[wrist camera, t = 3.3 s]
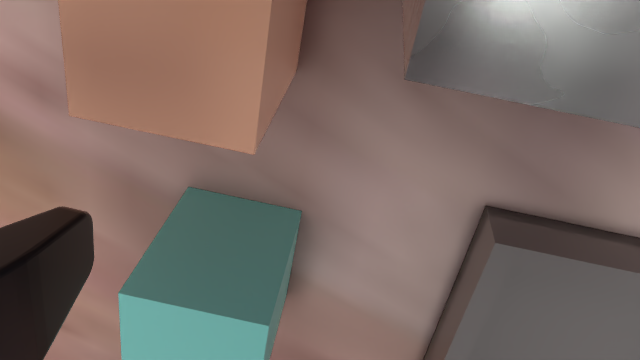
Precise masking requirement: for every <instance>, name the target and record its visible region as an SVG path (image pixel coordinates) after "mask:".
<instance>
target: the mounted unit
mask: <svg viewBox="0 0 640 360" xmlns="http://www.w3.org/2000/svg"><path fill="white" fill-rule="evenodd" d="M402 5H403V43H404V79H405V80H410V81H415V82H419V83H424V84H429V85H434V86H439V87H444V88H449V89H453V90H458V91H463V92H468V93H473V94H478V95H483V96H487V97H492V98H497V99H502V100H507V101H512V102H517V103H521V104H526V105H531V106H536V107H541V108H546V109H551V110H555V111H560V112H565V113H570V114H575V115H580V116H584V117H589V118H594V119H599V120H604V121H609V122H614V123H618V124H623V125H628V126H633V127H638V128H640V0H402Z"/></svg>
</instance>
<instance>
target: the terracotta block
mask: <svg viewBox="0 0 640 360" xmlns="http://www.w3.org/2000/svg"><path fill="white" fill-rule="evenodd" d="M58 4H59V15H60V25H61V36H62V46H63V57H64V67H65V78H66V89H67V99H68V110H69V116H73V117H77V118H82V119H87V120H92V121H96V122H101V123H106V124H111V125H115V126H120V127H125V128H129V129H134V130H139V131H144V132H148V133H153V134H158V135H163V136H167V137H172V138H177V139H182V140H186V141H191V142H196V143H201V144H205V145H210V146H215V147H220V148H224V149H229V150H234V151H239V152H243V153H248V154H253V155H254V154H255V152H256V150H257V148H258V146H259V144H260V142H261V140H262V139H263V137H264V135H265V133H266V131H267V129H268V127H269V125H270V123H271V121H272V119H273V117H274V115H275V113H276V111H277V109H278V107H279V105H280V103H281V101H282V99H283V97H284V95H285V93H286V91H287V89H288V87H289V85H290V83H291V81H292V79H293V77H294V75H295V73H296V71H297V65H298V58H299V51H300V45H301V38H302V31H303V25H304V18H305V11H306V4H307V0H58Z"/></svg>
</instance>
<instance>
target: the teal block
mask: <svg viewBox="0 0 640 360" xmlns="http://www.w3.org/2000/svg"><path fill="white" fill-rule="evenodd" d="M301 213H302V211H299V210H295V209H290V208H285V207H281V206H276V205H271V204H267V203H262V202H257V201H253V200H248V199H243V198H239V197H234V196H229V195H225V194H220V193H215V192H211V191H206V190H201V189H196V188H192V187H188V188H187V190H186V191H185V193H184V194H183V196H182V197H181V199H180V200H179V202H178V203H177V205H176V207H175V208H174V210H173V211H172V213H171V214H170V216H169V217H168V219H167V220H166V222H165V223H164V225H163V226H162V228H161V229H160V231H159V232H158V234H157V235H156V237H155V238H154V240H153V241H152V243H151V244H150V246H149V247H148V249H147V251H146V252H145V254H144V255H143V257H142V258H141V260H140V261H139V263H138V264H137V266H136V267H135V269H134V270H133V272H132V273H131V275H130V276H129V278H128V279H127V281H126V282H125V284H124V285H123V287H122V288H121V290H120V291H119V293H118V295H119V315H120V335H121V356H122V360H270V356H271V352H272V348H273V345H274V341H275V337H276V333H277V329H278V326H279V322H280V318H281V314H282V310H283V307H284V303H285V299H286V295H287V290H288V284H289V279H290V273H291V268H292V262H293V257H294V251H295V246H296V240H297V235H298V229H299V224H300V218H301Z"/></svg>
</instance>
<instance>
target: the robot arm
mask: <svg viewBox="0 0 640 360" xmlns="http://www.w3.org/2000/svg"><path fill="white" fill-rule="evenodd" d="M93 261H94V244H93V222H92V218H91V215H90V214H89V213H87V212H85V211H81V210H77V209H73V208H68V207H57V208H54V209H51V210H49V211H46V212H43V213H40V214H37V215H35V216H32V217H29V218H26V219H24V220H21V221H18V222H15V223H12V224H10V225H7V226H4V227H1V228H0V360H43V359H44V357H45V355H46V354H47V352H48V350H49V348H50V346H51V345H52V343H53V341H54V339H55V337H56V335H57V333H58V332H59V330H60V328H61V326H62V324H63V322H64V320H65V319H66V317H67V315H68V313H69V311H70V309H71V308H72V306H73V304H74V302H75V300H76V298H77V296H78V295H79V293H80V291H81V289H82V287H83V285H84V283H85V282H86V280H87V278H88V276H89V274H90V272H91V269H92V266H93Z"/></svg>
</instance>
